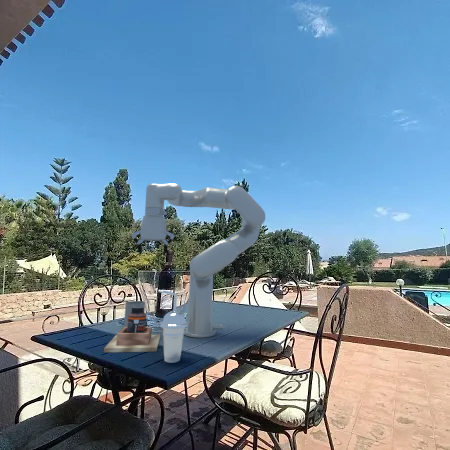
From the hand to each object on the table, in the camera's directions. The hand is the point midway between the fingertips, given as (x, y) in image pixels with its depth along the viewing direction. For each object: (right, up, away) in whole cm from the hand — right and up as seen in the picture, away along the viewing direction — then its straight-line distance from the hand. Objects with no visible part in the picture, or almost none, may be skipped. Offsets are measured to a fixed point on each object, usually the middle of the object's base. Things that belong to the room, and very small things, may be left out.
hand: (152, 254), depth 114 cm
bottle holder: (-1, -29, -19) cm, 34 cm away
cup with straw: (+14, -28, -32) cm, 45 cm away
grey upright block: (-11, -33, +9) cm, 35 cm away
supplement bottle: (-1, -28, -18) cm, 33 cm away
